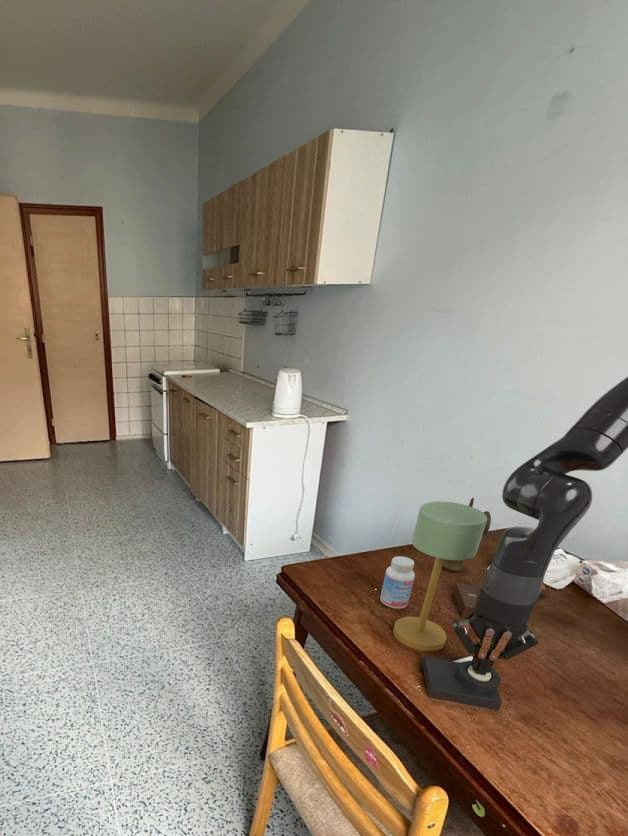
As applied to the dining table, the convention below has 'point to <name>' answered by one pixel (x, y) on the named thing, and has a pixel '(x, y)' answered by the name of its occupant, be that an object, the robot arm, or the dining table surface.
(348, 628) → the dining table surface
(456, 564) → the kendama
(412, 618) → the table lamp
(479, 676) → the lamp switch
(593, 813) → the dining table surface
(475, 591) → the dimmer
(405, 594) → the pill bottle
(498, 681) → the switch base
